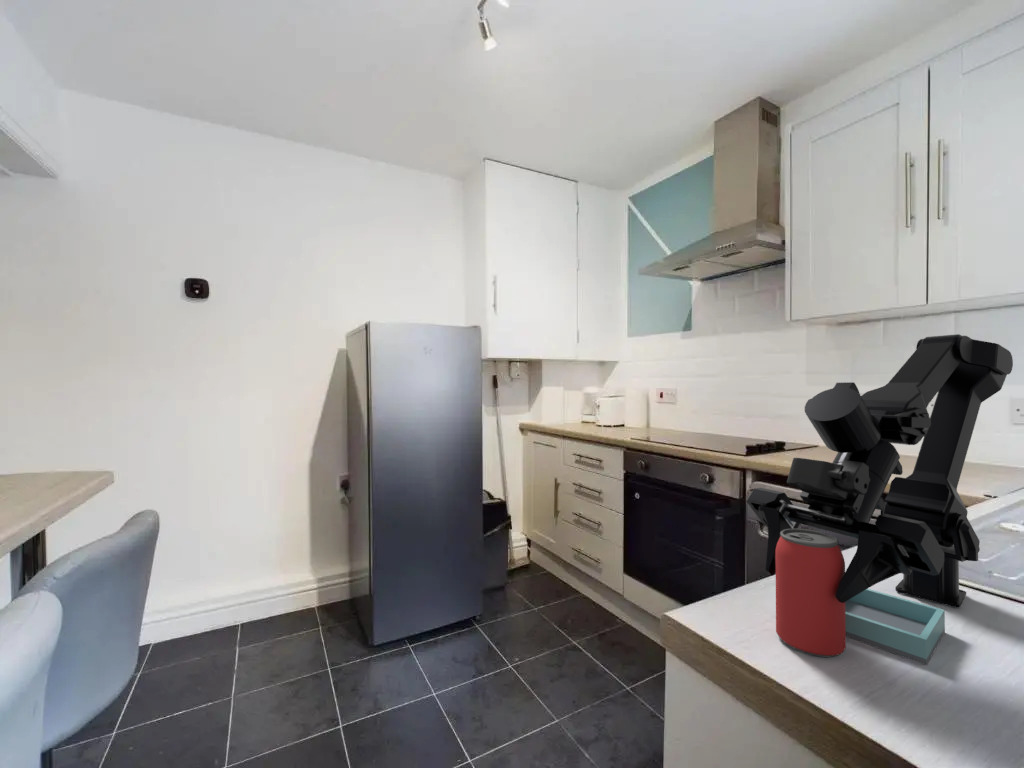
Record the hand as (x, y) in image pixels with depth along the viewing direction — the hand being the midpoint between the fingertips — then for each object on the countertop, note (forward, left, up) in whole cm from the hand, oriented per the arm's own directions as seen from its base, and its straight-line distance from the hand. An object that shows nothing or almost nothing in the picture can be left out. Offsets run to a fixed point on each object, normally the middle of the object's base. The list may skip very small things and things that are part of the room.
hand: (801, 585), depth 50 cm
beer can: (-1, 0, -7) cm, 7 cm away
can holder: (-11, +4, -7) cm, 14 cm away
